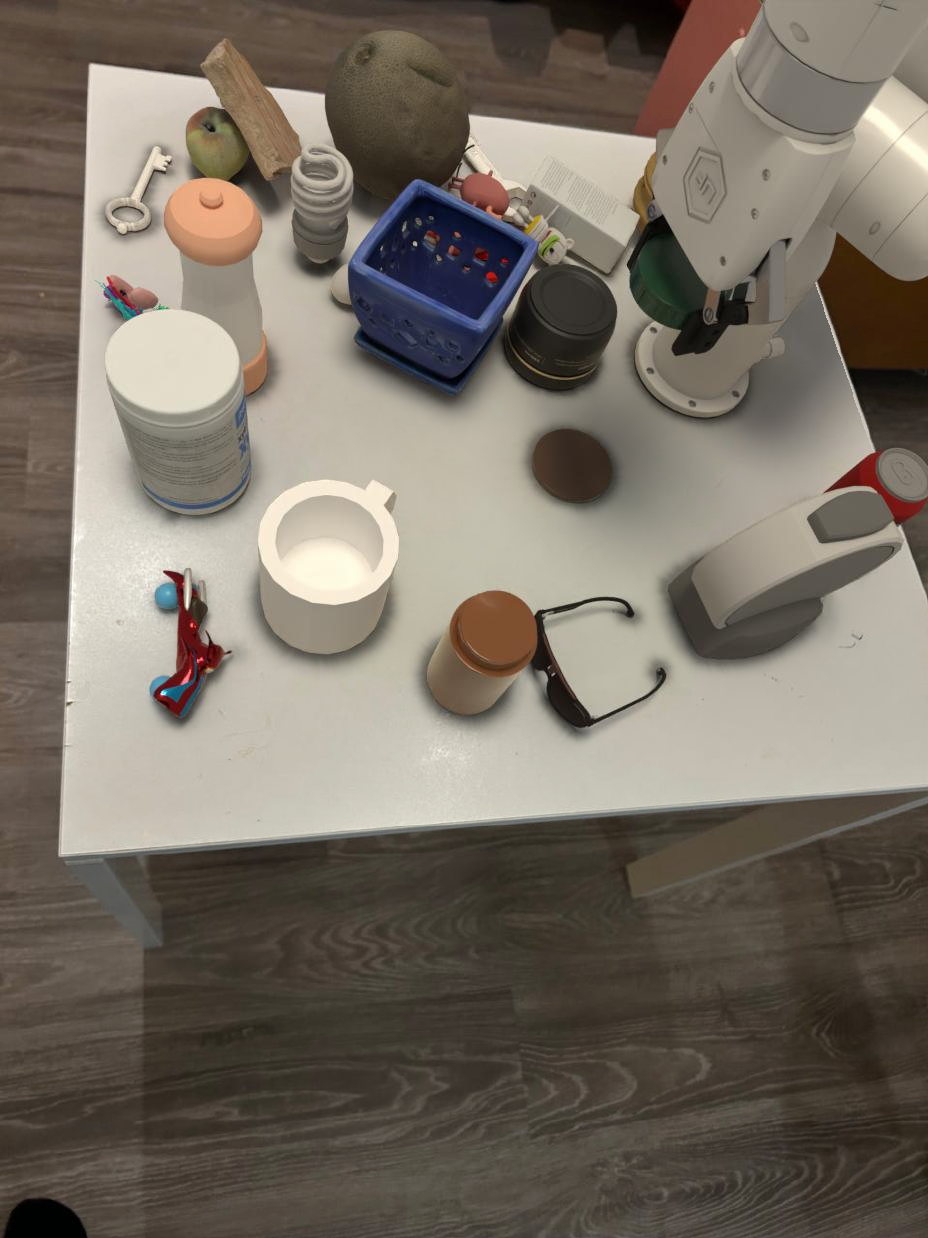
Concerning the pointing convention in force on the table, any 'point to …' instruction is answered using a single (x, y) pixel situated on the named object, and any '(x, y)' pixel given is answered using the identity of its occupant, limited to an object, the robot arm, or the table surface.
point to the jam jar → (482, 652)
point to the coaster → (572, 465)
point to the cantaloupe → (396, 112)
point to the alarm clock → (782, 571)
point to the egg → (341, 285)
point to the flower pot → (435, 285)
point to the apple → (216, 143)
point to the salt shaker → (221, 264)
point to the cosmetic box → (581, 213)
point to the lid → (667, 282)
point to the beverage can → (892, 480)
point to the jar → (560, 326)
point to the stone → (252, 110)
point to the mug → (327, 563)
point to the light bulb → (321, 202)
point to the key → (138, 194)
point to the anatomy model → (129, 297)
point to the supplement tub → (181, 408)
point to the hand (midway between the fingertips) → (667, 306)
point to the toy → (541, 233)
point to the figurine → (480, 197)
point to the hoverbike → (186, 644)
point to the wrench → (485, 166)
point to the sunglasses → (557, 684)
